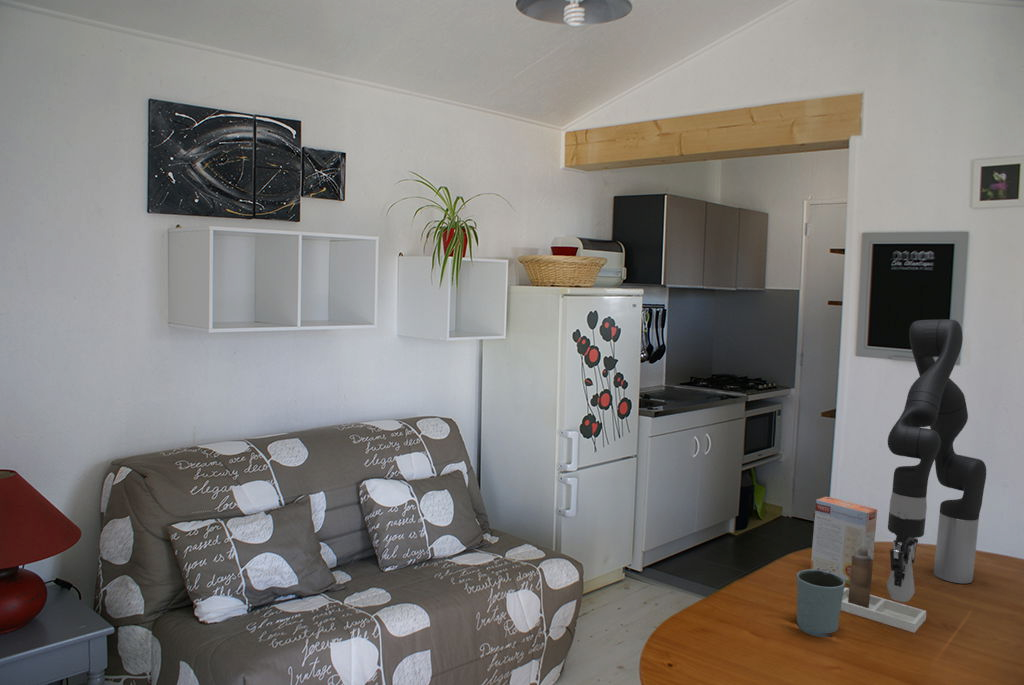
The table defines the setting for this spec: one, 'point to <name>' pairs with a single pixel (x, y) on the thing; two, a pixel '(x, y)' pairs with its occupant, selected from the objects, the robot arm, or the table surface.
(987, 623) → the table surface
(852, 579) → the pepper mill
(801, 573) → the blue-grey cup
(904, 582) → the salt shaker
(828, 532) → the cracker box
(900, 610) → the caddy
